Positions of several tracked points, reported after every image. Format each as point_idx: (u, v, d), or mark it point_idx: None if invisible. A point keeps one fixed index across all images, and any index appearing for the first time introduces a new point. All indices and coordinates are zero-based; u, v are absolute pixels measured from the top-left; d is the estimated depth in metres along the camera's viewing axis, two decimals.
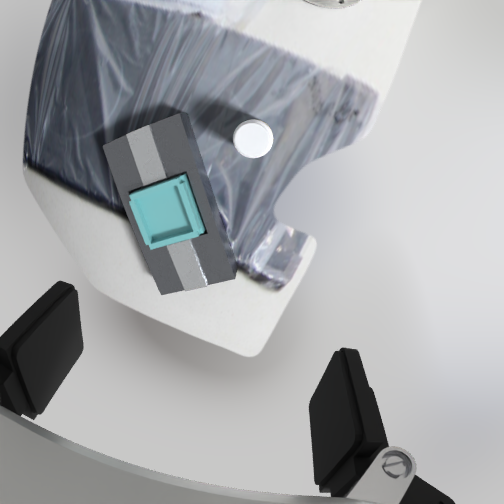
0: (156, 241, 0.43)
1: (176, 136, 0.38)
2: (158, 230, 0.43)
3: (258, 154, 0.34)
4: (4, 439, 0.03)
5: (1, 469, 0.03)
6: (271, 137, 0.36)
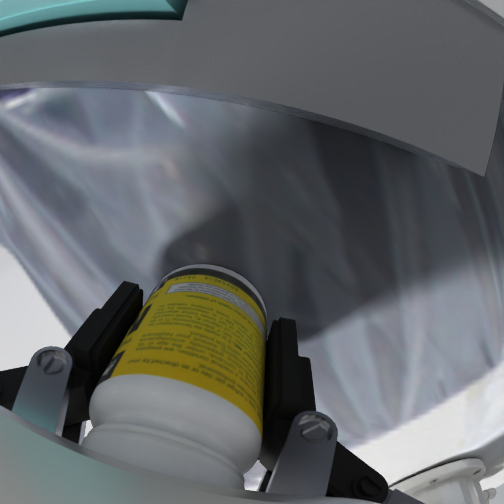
0: None
1: (402, 78, 0.05)
2: None
3: None
4: (4, 439, 0.03)
5: (1, 469, 0.03)
6: None
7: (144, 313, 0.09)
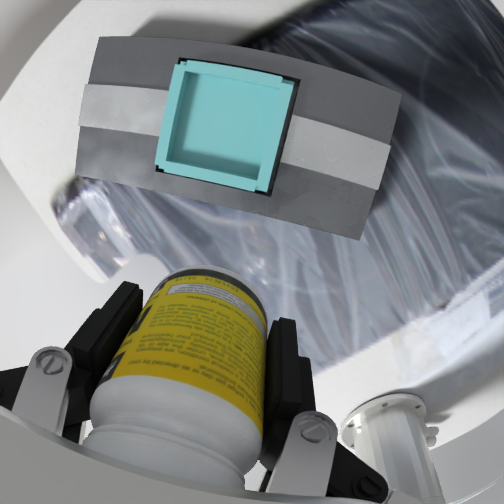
0: (183, 81, 0.19)
1: (331, 215, 0.23)
2: (201, 92, 0.20)
3: None
4: (4, 439, 0.03)
5: (1, 469, 0.03)
6: None
7: (144, 314, 0.09)
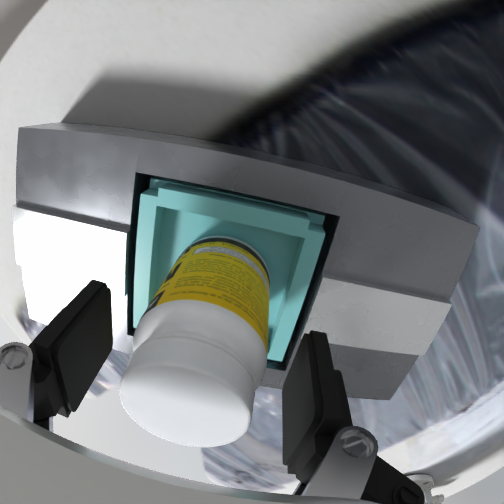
0: (157, 218, 0.14)
1: (360, 383, 0.17)
2: (185, 229, 0.15)
3: (124, 401, 0.08)
4: (4, 439, 0.03)
5: (1, 469, 0.03)
6: None
7: (176, 268, 0.12)
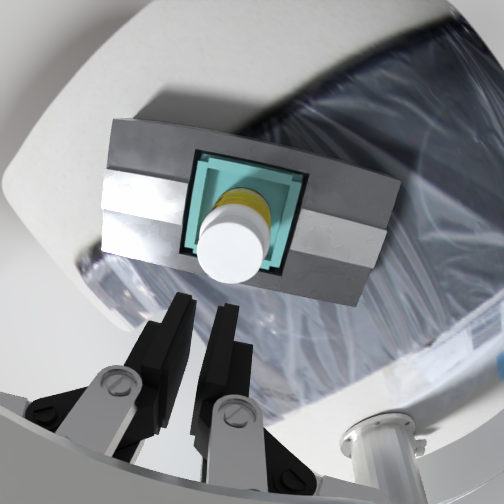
0: (206, 175, 0.25)
1: (332, 289, 0.28)
2: (221, 183, 0.26)
3: (199, 251, 0.19)
4: (4, 439, 0.03)
5: (1, 469, 0.03)
6: None
7: (220, 198, 0.23)
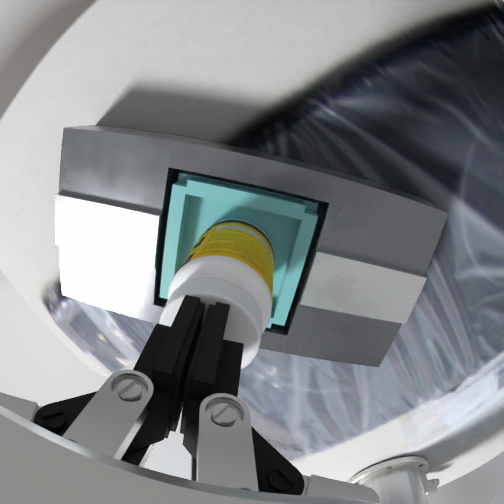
0: (185, 204, 0.18)
1: (352, 348, 0.21)
2: (207, 214, 0.19)
3: None
4: (4, 439, 0.03)
5: (1, 469, 0.03)
6: None
7: (201, 240, 0.16)
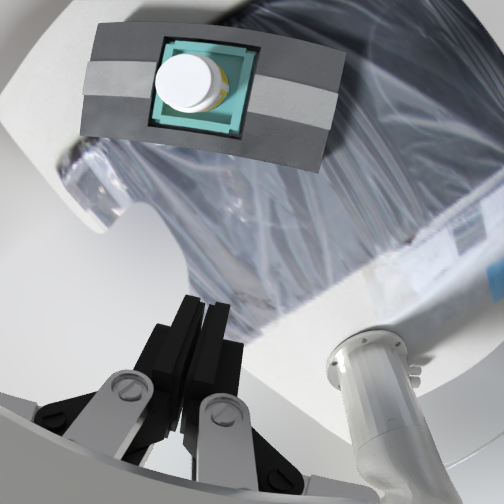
0: None
1: (292, 152, 0.28)
2: None
3: (157, 81, 0.19)
4: (4, 439, 0.03)
5: (1, 469, 0.03)
6: (178, 108, 0.22)
7: None
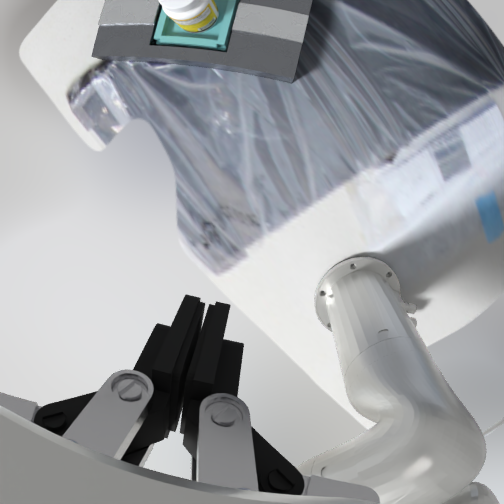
0: None
1: (270, 61, 0.29)
2: None
3: None
4: (4, 439, 0.03)
5: (1, 469, 0.03)
6: (174, 16, 0.23)
7: None
